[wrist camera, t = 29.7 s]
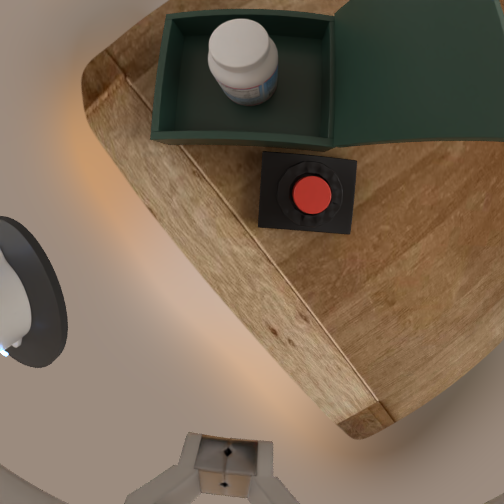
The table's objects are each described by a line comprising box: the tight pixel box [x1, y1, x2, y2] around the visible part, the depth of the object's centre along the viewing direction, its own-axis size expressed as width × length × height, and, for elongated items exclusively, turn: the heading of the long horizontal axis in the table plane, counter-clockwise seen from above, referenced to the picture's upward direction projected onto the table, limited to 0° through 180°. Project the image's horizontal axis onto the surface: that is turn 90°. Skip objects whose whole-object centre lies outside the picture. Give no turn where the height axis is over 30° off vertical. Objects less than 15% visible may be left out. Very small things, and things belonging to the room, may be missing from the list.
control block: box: [258, 151, 357, 234], centre depth 31 cm, size 10×8×4 cm
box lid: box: [333, 0, 504, 147], centre depth 15 cm, size 18×15×5 cm
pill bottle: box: [208, 19, 278, 106], centre depth 24 cm, size 6×6×11 cm
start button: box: [292, 176, 331, 214], centre depth 28 cm, size 4×4×2 cm
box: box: [150, 9, 336, 152], centre depth 27 cm, size 18×15×6 cm
